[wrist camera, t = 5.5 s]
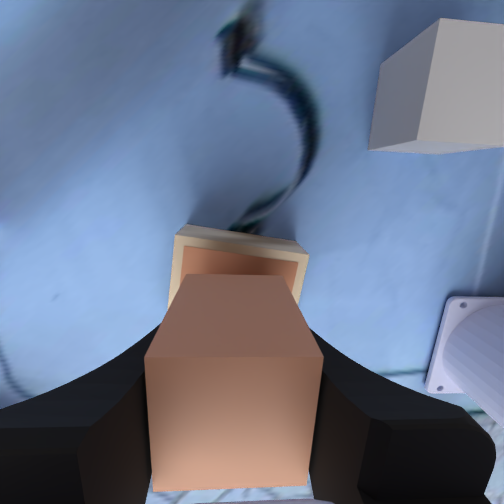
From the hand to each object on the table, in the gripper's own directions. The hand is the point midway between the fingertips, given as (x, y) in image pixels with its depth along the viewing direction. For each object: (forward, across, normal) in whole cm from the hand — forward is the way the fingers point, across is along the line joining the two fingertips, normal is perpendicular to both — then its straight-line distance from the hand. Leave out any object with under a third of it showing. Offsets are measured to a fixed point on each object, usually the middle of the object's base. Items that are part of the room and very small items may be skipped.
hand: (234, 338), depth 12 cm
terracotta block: (+2, 0, 0) cm, 2 cm away
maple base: (+6, 0, 0) cm, 6 cm away
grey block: (+6, -10, -11) cm, 16 cm away
